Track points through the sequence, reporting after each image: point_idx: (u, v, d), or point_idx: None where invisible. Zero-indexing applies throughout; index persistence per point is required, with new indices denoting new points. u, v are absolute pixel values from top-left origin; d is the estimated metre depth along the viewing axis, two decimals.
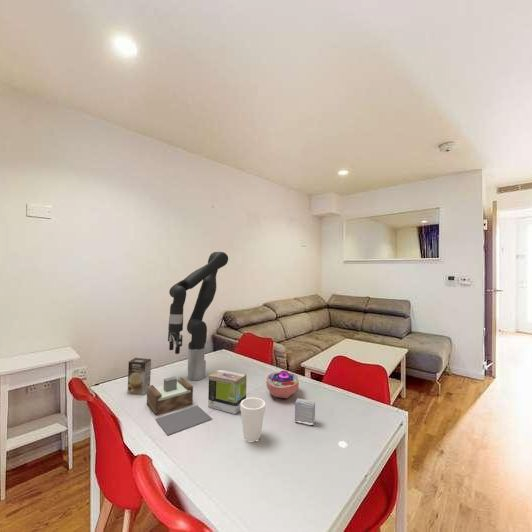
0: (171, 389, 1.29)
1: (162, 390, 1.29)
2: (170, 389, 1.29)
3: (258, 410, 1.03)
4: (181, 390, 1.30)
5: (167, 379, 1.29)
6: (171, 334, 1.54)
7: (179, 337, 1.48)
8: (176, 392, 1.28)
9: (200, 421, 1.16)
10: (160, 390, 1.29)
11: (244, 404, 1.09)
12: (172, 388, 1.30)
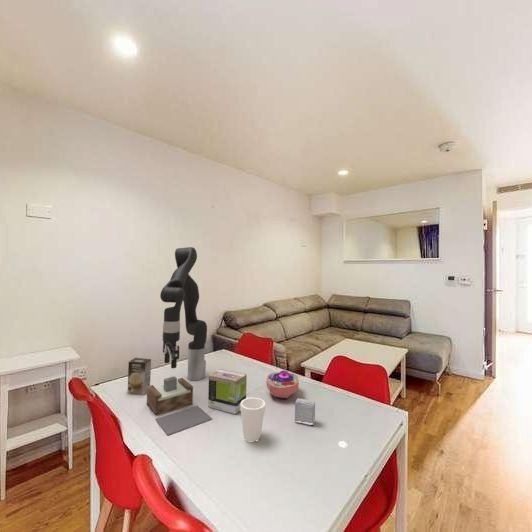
0: (171, 389, 1.29)
1: (162, 390, 1.29)
2: (170, 389, 1.29)
3: (258, 410, 1.03)
4: (181, 390, 1.30)
5: (167, 379, 1.29)
6: (166, 345, 1.30)
7: (175, 348, 1.25)
8: (176, 392, 1.28)
9: (200, 421, 1.16)
10: (160, 390, 1.29)
11: (244, 404, 1.09)
12: (172, 388, 1.30)
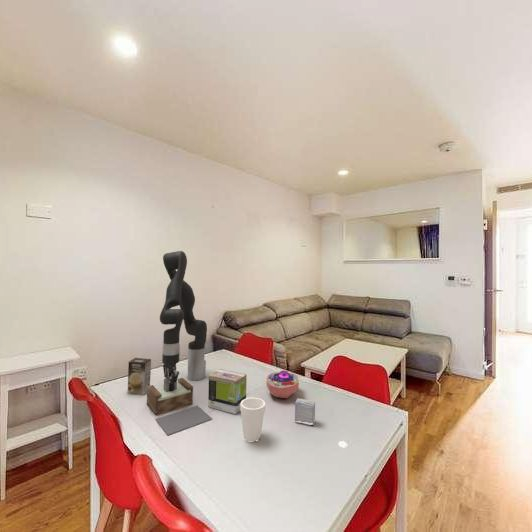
0: None
1: (162, 390, 1.29)
2: None
3: (258, 410, 1.03)
4: (181, 390, 1.30)
5: (167, 379, 1.29)
6: (166, 366, 1.30)
7: (175, 375, 1.25)
8: (176, 392, 1.28)
9: (200, 421, 1.16)
10: (160, 390, 1.29)
11: (244, 404, 1.09)
12: None
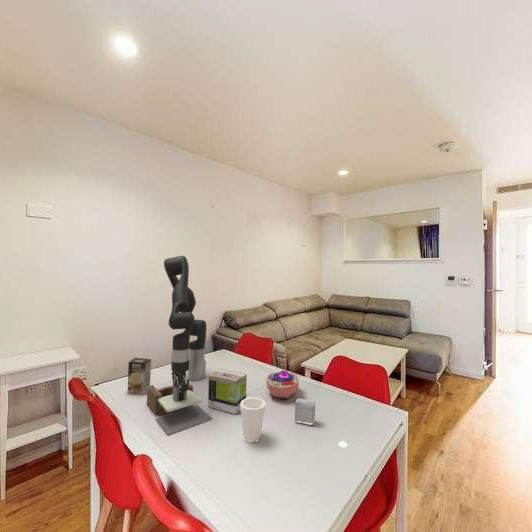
0: None
1: (171, 400, 1.20)
2: None
3: (258, 410, 1.03)
4: (191, 400, 1.21)
5: (176, 388, 1.20)
6: (175, 374, 1.21)
7: (185, 383, 1.16)
8: (186, 402, 1.19)
9: (200, 421, 1.16)
10: (169, 400, 1.20)
11: (244, 404, 1.09)
12: None
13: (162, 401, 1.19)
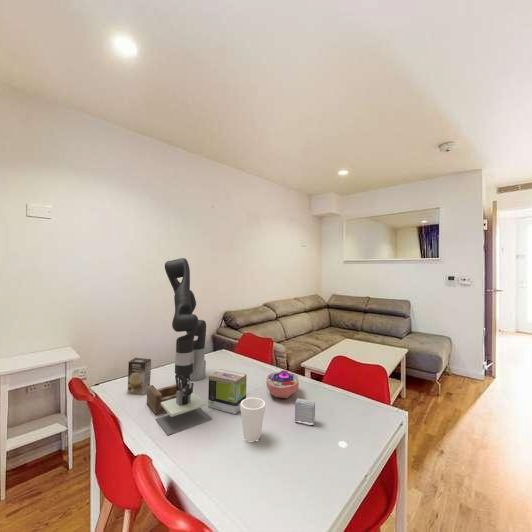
0: None
1: (175, 404, 1.18)
2: None
3: (258, 410, 1.03)
4: (195, 404, 1.18)
5: (180, 391, 1.18)
6: (178, 377, 1.19)
7: (189, 387, 1.14)
8: (190, 406, 1.16)
9: (200, 421, 1.16)
10: (172, 404, 1.18)
11: (244, 404, 1.09)
12: None
13: (165, 405, 1.16)
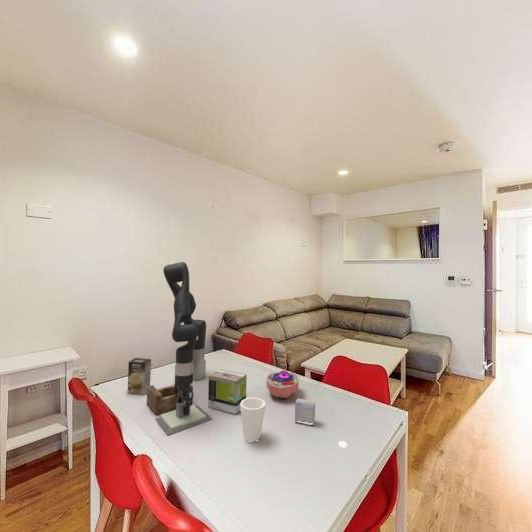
0: None
1: (174, 416, 1.18)
2: (183, 415, 1.17)
3: (258, 410, 1.03)
4: (195, 416, 1.18)
5: (180, 404, 1.18)
6: (178, 387, 1.19)
7: (189, 396, 1.14)
8: (189, 418, 1.16)
9: (200, 421, 1.16)
10: (172, 416, 1.18)
11: (244, 404, 1.09)
12: None
13: (165, 418, 1.16)
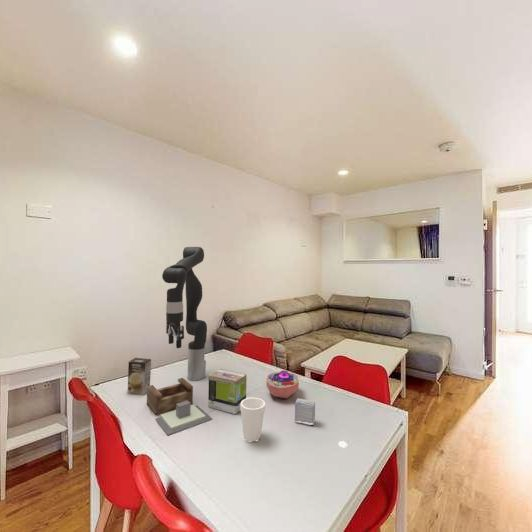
0: (184, 415, 1.18)
1: (174, 416, 1.18)
2: (183, 415, 1.17)
3: (258, 410, 1.03)
4: (195, 416, 1.18)
5: (180, 404, 1.18)
6: (170, 325, 1.30)
7: (180, 328, 1.25)
8: (189, 418, 1.16)
9: (200, 421, 1.16)
10: (172, 416, 1.18)
11: (244, 404, 1.09)
12: (185, 414, 1.18)
13: (165, 418, 1.16)
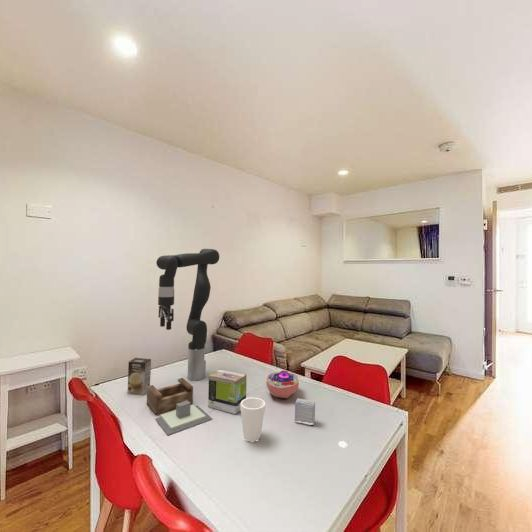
0: (184, 415, 1.18)
1: (174, 416, 1.18)
2: (183, 415, 1.17)
3: (258, 410, 1.03)
4: (195, 416, 1.18)
5: (180, 404, 1.18)
6: (161, 309, 1.40)
7: (170, 311, 1.35)
8: (189, 418, 1.16)
9: (200, 421, 1.16)
10: (172, 416, 1.18)
11: (244, 404, 1.09)
12: (185, 414, 1.18)
13: (165, 418, 1.16)
